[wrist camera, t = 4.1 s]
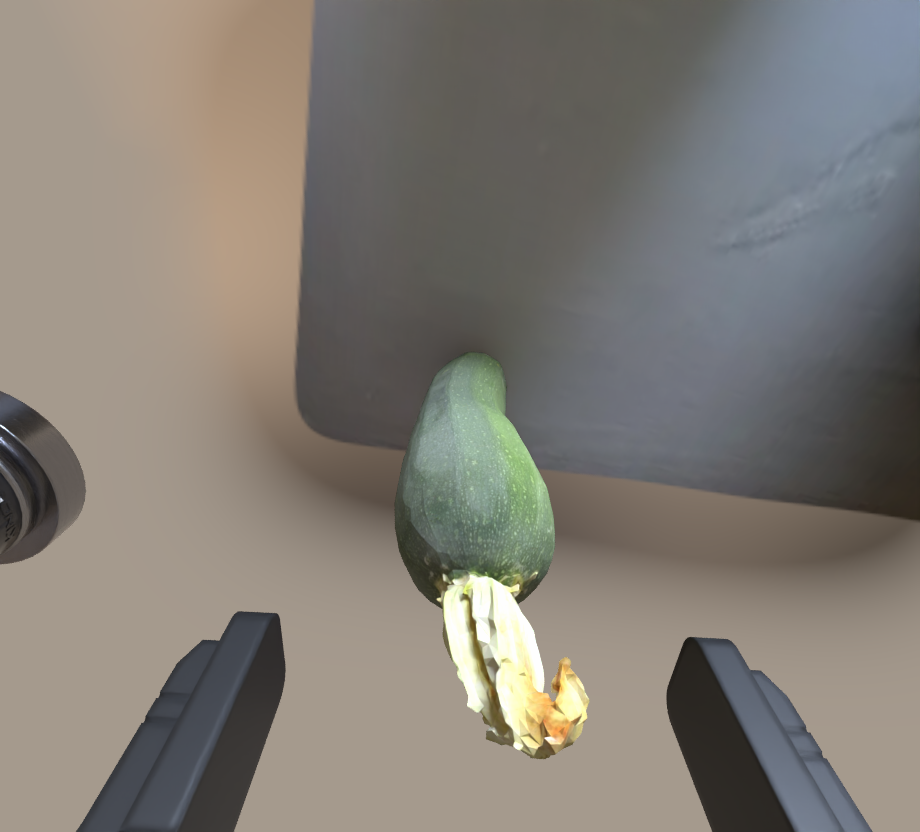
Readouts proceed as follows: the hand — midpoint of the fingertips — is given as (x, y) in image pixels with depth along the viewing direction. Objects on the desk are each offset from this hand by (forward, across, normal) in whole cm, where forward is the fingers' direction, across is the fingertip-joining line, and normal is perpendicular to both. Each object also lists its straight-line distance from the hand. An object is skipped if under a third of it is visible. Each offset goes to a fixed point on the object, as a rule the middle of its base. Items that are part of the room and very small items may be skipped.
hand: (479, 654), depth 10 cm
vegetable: (+18, 0, 0) cm, 18 cm away
